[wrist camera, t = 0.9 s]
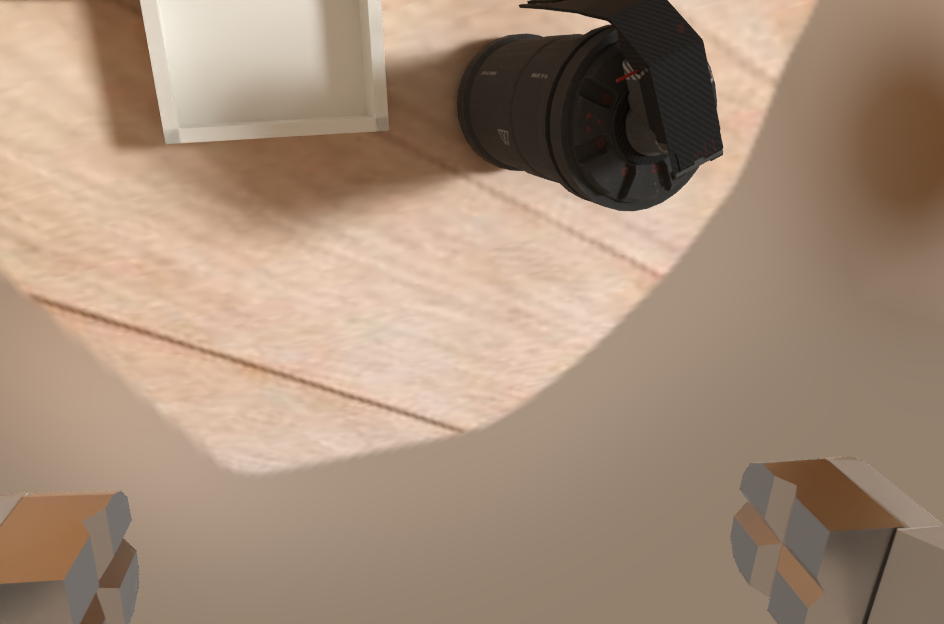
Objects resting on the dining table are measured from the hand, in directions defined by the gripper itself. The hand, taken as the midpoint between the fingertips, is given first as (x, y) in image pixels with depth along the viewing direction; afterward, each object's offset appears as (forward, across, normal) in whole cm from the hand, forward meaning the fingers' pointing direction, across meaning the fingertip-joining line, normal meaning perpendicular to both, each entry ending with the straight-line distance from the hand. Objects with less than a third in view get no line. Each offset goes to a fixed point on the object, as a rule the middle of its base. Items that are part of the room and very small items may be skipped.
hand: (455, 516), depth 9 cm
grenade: (+42, -9, -4) cm, 43 cm away
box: (+38, +7, -7) cm, 40 cm away
